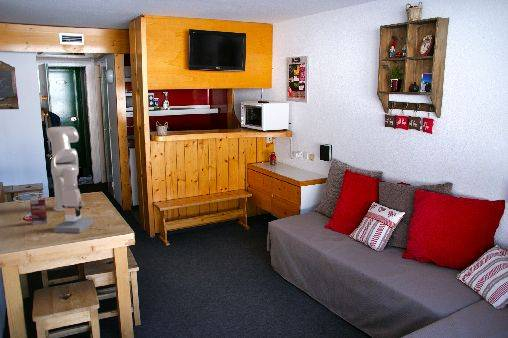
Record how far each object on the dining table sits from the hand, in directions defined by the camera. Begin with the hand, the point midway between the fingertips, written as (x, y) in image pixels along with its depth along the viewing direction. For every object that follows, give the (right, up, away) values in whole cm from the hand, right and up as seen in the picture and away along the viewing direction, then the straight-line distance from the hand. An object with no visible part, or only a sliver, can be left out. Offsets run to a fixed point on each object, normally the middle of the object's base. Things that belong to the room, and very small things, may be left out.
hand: (73, 215), depth 267 cm
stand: (0, -8, +2) cm, 8 cm away
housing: (0, -2, 0) cm, 2 cm away
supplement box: (-25, -6, +10) cm, 28 cm away
